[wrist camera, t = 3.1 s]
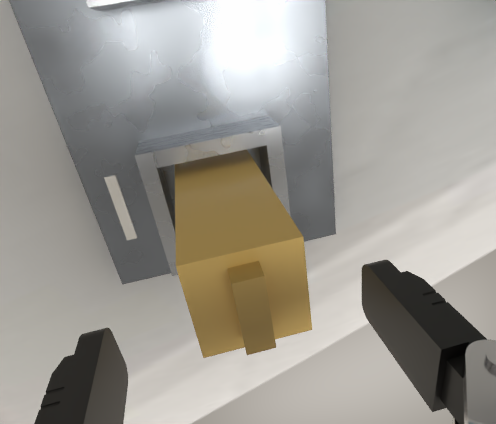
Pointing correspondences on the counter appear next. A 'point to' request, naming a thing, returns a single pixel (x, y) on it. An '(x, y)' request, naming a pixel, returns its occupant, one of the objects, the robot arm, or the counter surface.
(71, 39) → the panel
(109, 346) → the robot arm
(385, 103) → the counter surface
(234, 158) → the plug
